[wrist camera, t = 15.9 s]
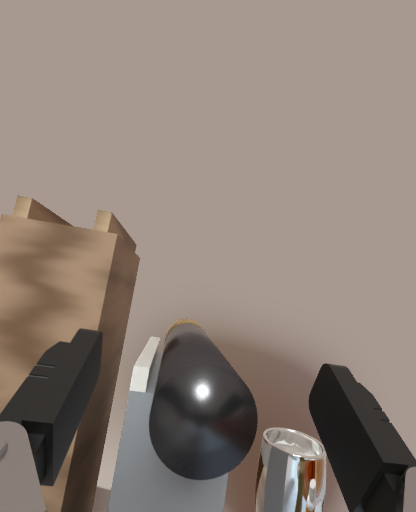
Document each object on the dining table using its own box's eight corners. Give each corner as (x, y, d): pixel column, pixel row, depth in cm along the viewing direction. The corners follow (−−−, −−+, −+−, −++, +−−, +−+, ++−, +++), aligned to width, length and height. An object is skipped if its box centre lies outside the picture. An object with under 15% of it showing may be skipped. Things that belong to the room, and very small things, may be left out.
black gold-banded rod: (247, 489, 11) (266, 374, 11) (135, 471, 10) (162, 354, 11) (198, 357, 33) (206, 321, 34) (162, 350, 33) (171, 314, 34)
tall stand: (-149, 779, 16) (7, 193, 21) (0, 556, 30) (73, 234, 35) (5, 782, 17) (121, 213, 22) (81, 563, 31) (142, 245, 36)
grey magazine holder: (48, 828, 16) (133, 365, 19) (108, 578, 29) (151, 336, 33) (181, 828, 16) (240, 380, 20) (178, 584, 30) (213, 345, 33)
